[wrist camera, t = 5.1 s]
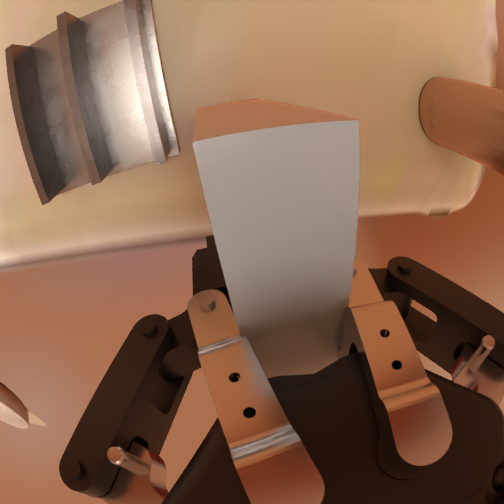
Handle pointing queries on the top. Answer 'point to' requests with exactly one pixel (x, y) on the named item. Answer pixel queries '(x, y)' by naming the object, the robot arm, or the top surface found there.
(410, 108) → the top surface
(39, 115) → the dish rack
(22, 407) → the serving bowl
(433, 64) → the top surface
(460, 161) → the top surface
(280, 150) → the dish slab
